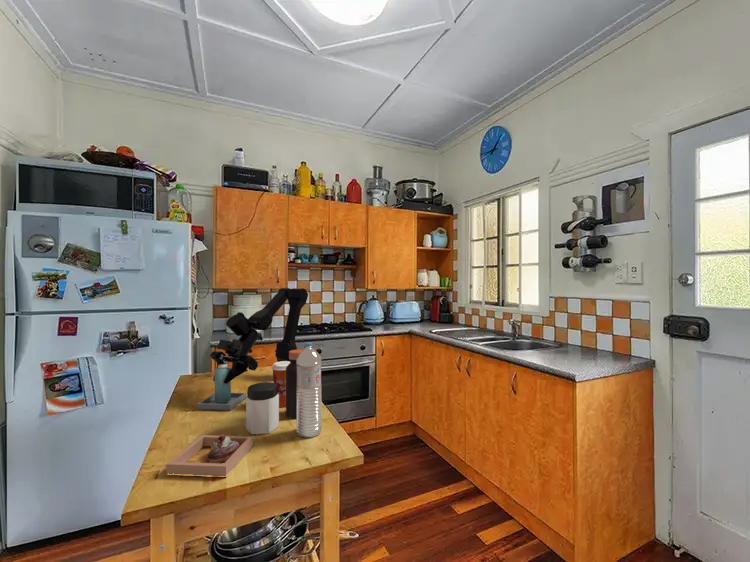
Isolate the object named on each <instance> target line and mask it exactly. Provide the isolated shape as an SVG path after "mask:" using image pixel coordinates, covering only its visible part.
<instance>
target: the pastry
mask: <svg viewBox="0 0 750 562" xmlns="http://www.w3.org/2000/svg"><path fill="white" fill-rule="evenodd" d="M219 436H220V437H219V438H217V439H216V440H215V442H214V443H213V445H212V447H211V449H210V450H209V451H208V454H207V462H208V461H209V462H211V463H218V464H222V463H225V462H226V461H227V460H228V459H229V458H230V457H231V456H232V455H233V453H234V452H235V451H236V450H237V449H238V448H239V447H240V446H241V444H240V443H238V442H237V441H231V440H230V438H229V437H226V436H227V435H225V433H222V434H221V435H219ZM209 462H208V463H209Z"/></svg>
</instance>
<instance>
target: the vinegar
mask: <svg viewBox="0 0 750 562" xmlns="http://www.w3.org/2000/svg"><path fill="white" fill-rule="evenodd" d="M303 350H304V349H297V350H291V351H289V360H290V364H289V365H288V366H287V367H286V407H285V415H286V417H287V418H289V419H293V420H294V419H296V417H297V416H296V407H297V406H296V404H297V403H296V397H297V396H296V394H297V393H296V387H297V364H296V359H297V357H298V355H299V354H300V353H301V352H302V351H303ZM296 420H297V419H296Z"/></svg>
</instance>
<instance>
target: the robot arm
mask: <svg viewBox="0 0 750 562" xmlns="http://www.w3.org/2000/svg"><path fill="white" fill-rule="evenodd" d="M308 297H309V292H308V291H307V289H305V288H295V287H294V288H289V287H281V288H279V289H278V291H277V293H276V294H275V295H274V296H273V297H272V298H271V299H270V301H269V302H267V303H266V305H265V306H264V307H263V308H262V309H260V310H258V311H255V313H253V314H252V315H250V316H249V317H248V318H247V317H246V315H245V314H244V313H243V312H237V313H236V314H233V315H232V316H230V317H229V318H228V319H227V320H226V321H225V325H226V327H227V328H228V329H229V330H230V331H231V332H232V333H233V334H234V335H235V336H237V337H239V338H238V339H235V338H234V339H232V340H228V339H227V340H226V339H219V341H218V345H217V348H216V349H217V350H213V351H212V352H211V353H210V354H209V357H210V359H212V360H213V361H215V363H216V367H215V368H217V367H218V365H220V364H227V366H229V363H231V370H230V371H229V373H228V375H227V376H226V378H225V380H224V383H225V384H227V383H228V382H230V381H231V382H232V381H233V380H234V379H236V378H237V377H238V376H240V375H242V374H244V373H245V372H249V370H250V371H254V372H255V371H256V370H257V369H258V366H259V363H258V361H257V360H256V359H255V358H254V357H253V356H252V355H249V354H252V353H253V349H252V348H253V347H254V344H255V343H256V342H257V341H261V342H262V341H263V336H262V334H263V333H262V332H259V331H267V330H268V329H269V328H270V326H271V324H272V322H273V317H274V316H275V315H276V313H277V312H278V311H279V310H280V309H281V307H283V305H284V304H285V303H286V302H288V305H289V308H288V314H287V319H286V324H285V328H284V332H283V338H282V340H281V341H280V342H277V343H276V348H275V350H274V353H275V354H274V355H275V358H276V361H277V362H281V361H290V360H289V351H291V350H298V347H297V344H296V336H297V333H298V332H297V331H298V327H299V322H300V318H301V317H300V315H301V311H302V309H303V307H305V305H306V303H307V301H308ZM221 350H222V351H221ZM223 351H224V352H223ZM226 354H227V355H226ZM212 380H213V382H215V373H214V375H213V379H212Z"/></svg>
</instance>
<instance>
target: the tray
mask: <svg viewBox="0 0 750 562" xmlns="http://www.w3.org/2000/svg"><path fill="white" fill-rule="evenodd" d="M246 397H247V393H246V392H231V400H230V401H228V402H224V403H216V402H215V392H214V393H212V394H210V395H209V396H207V397H206V398H204V399H202V400H201V401H199V402H198V403H196V411H212V410H216V412H221V411H222V412H231V411H232V410H234V409H235V408H236V407H237V406H238V405H240V404H241V403H242V402H244V401H245V400H246Z"/></svg>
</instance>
